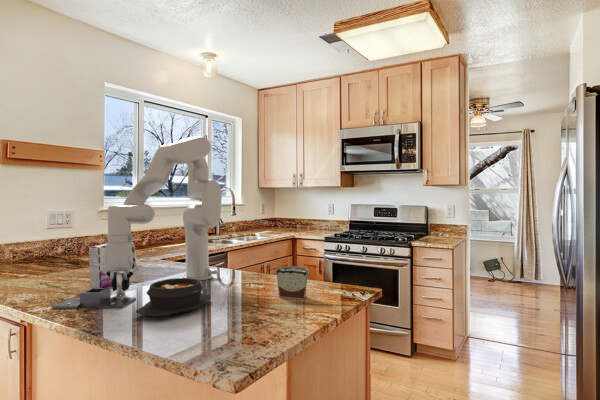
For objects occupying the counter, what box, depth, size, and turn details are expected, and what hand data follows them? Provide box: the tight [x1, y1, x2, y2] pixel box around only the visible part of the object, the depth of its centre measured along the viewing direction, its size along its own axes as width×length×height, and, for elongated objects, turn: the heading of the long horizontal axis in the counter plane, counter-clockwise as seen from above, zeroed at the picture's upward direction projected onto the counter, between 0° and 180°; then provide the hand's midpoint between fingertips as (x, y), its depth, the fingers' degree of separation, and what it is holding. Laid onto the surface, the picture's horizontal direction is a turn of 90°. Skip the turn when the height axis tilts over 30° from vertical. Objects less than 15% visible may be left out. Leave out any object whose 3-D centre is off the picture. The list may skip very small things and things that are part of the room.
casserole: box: [135, 277, 212, 318], centre depth 119 cm, size 25×19×8 cm
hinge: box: [51, 287, 137, 310], centre depth 126 cm, size 23×10×4 cm, turn 89°
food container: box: [274, 265, 310, 300], centre depth 134 cm, size 12×6×10 cm, turn 71°
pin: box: [115, 271, 126, 297], centre depth 137 cm, size 3×3×8 cm
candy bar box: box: [88, 243, 120, 289], centre depth 152 cm, size 11×5×16 cm, turn 168°
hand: (120, 289), depth 137 cm, fingers closed on pin, 3 cm apart
